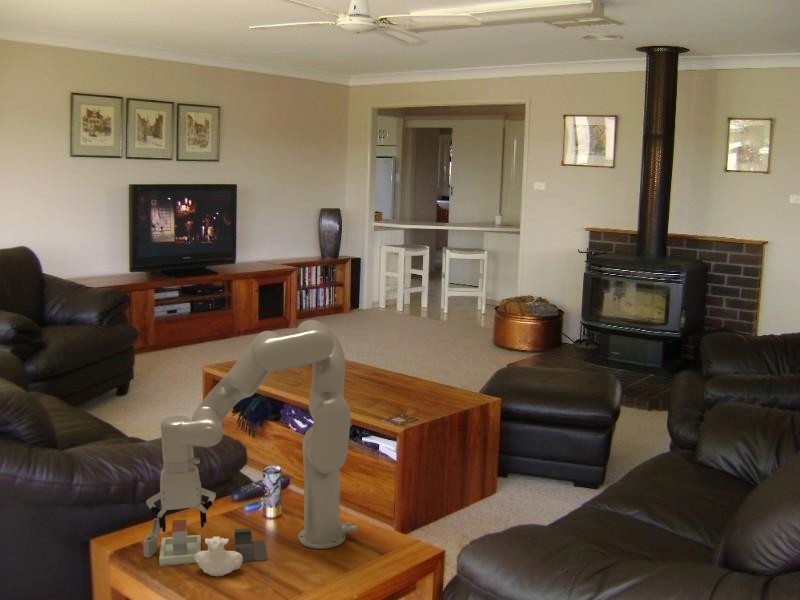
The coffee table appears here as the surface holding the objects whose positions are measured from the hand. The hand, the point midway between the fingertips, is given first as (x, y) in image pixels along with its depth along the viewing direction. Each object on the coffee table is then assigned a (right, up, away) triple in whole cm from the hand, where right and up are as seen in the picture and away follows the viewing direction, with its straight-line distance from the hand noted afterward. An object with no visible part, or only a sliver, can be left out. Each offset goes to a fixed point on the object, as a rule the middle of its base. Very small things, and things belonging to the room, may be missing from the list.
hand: (183, 527), depth 222 cm
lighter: (-8, -7, +2) cm, 11 cm away
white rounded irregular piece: (+11, -9, -9) cm, 17 cm away
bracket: (+17, -7, +3) cm, 18 cm away
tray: (-1, -7, +1) cm, 7 cm away
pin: (-1, -7, +1) cm, 7 cm away
